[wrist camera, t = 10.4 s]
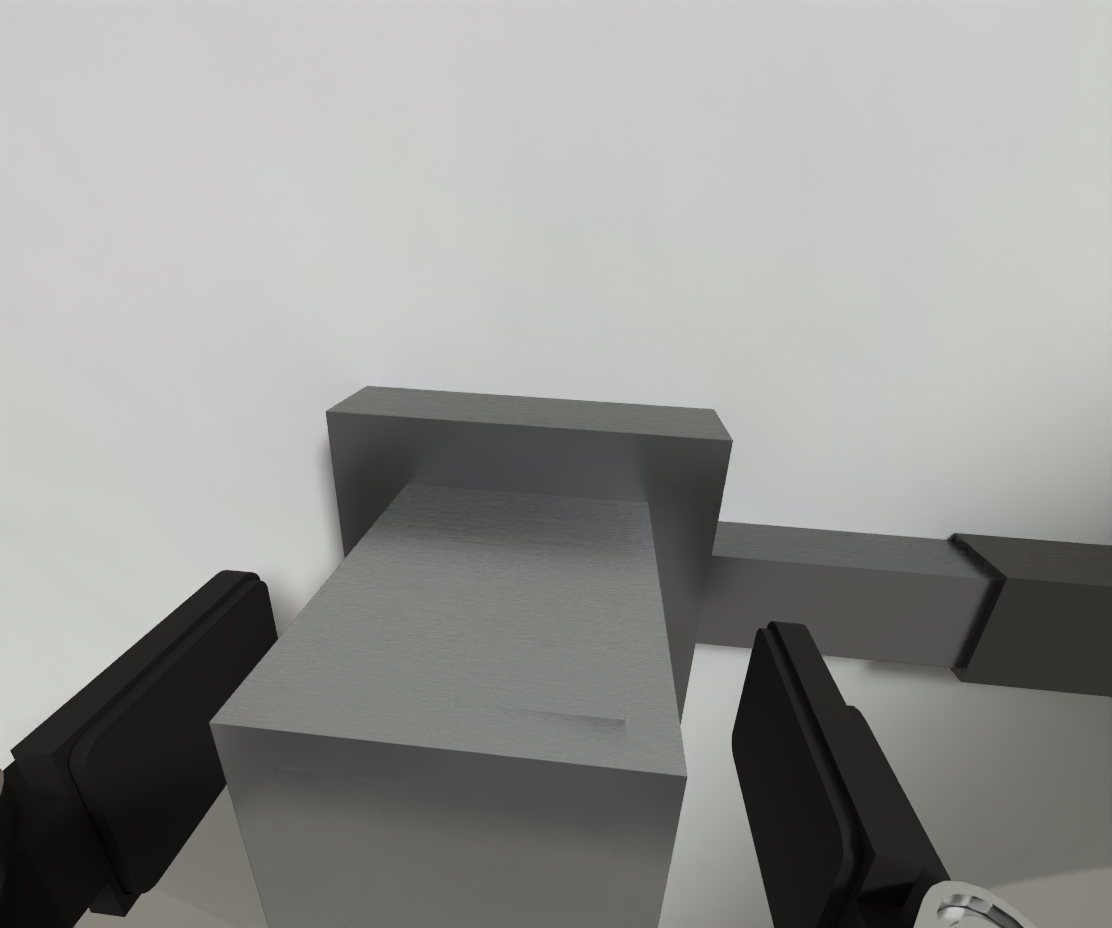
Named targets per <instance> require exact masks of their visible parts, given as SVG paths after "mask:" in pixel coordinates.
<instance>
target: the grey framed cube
mask: <svg viewBox="0 0 1112 928" xmlns="http://www.w3.org/2000/svg"><path fill="white" fill-rule="evenodd" d="M209 724H210V727H211V731H212V734H213V738H214V741H215V744H216V748H217V751H218V755H219V758H220V762H221V765H222V768H223V772H224V775H225V779H226V782H227V786H228V789H229V793H230V796H231V799H232V803H233V806H234V810H235V813H236V817H237V820H238V823H239V827H240V830H241V834H242V837H243V841H244V844H245V848H246V851H247V854H248V858H249V861H250V865H251V868H252V872H253V875H254V879H255V882H256V885H257V889H258V892H259V896H260V899H261V903H262V906H263V909H264V913H265V916H266V920H267V923H268V927H269V928H658V923H659V918H660V913H661V908H662V903H663V898H664V893H665V888H666V883H667V877H668V872H669V867H670V862H671V857H672V852H673V847H674V842H675V837H676V832H677V827H678V822H679V816H680V811H681V806H682V801H683V796H684V791H685V786H686V781H687V770H686V763H685V756H684V749H683V742H682V735H681V729H680V722H679V715H678V708H677V701H676V694H675V687H674V680H673V673H672V666H671V659H670V652H669V645H668V638H667V631H666V624H665V617H664V611H663V604H662V597H661V590H660V583H659V576H658V569H657V562H656V555H655V548H654V541H653V534H652V527H651V520H650V513H649V506H648V503H642V502H629V501H616V500H603V499H590V498H577V497H564V496H552V495H539V494H526V493H513V492H500V491H487V490H475V489H462V488H449V487H436V486H423V485H410V484H407V485H406V486H405V487H404V488H403V489H402V491H401V492H400V493H399V494H398V495H397V497H396V498H395V499H394V500H393V501H392V503H391V504H390V505H389V506H388V507H387V509H386V510H385V511H384V512H383V514H382V515H381V516H380V517H379V518H378V520H377V521H376V522H375V523H374V524H373V526H372V527H371V528H370V529H369V530H368V532H367V533H366V534H365V535H364V536H363V538H362V539H361V540H360V541H359V542H358V544H357V545H356V546H355V547H354V548H353V550H352V551H351V552H350V553H349V555H348V556H347V557H346V558H345V559H344V561H343V562H342V563H341V564H340V565H339V567H338V568H337V569H336V570H335V571H334V573H333V574H332V575H331V576H330V577H329V579H328V580H327V581H326V582H325V583H324V585H323V586H322V587H321V588H320V589H319V591H318V592H317V593H316V594H315V596H314V597H313V598H312V599H311V600H310V602H309V603H308V604H307V605H306V606H305V608H304V609H303V610H302V611H301V612H300V614H299V615H298V616H297V617H296V618H295V620H294V621H293V622H292V623H291V624H290V626H289V627H288V628H287V629H286V630H285V632H284V633H283V634H282V635H281V637H280V638H279V639H278V640H277V641H276V643H275V644H274V645H273V646H272V647H271V649H270V650H269V651H268V652H267V653H266V655H265V656H264V657H263V658H262V659H261V661H260V662H259V663H258V664H257V665H256V667H255V668H254V669H253V670H252V672H251V673H250V674H249V675H248V676H247V678H246V679H245V680H244V681H243V682H242V684H241V685H240V686H239V687H238V688H237V690H236V691H235V692H234V693H233V694H232V696H231V697H230V698H229V699H228V700H227V702H226V703H225V704H224V705H223V706H222V708H221V709H220V710H219V711H218V713H217V714H216V715H215V716H214V717H213V719H212V720H211V721H210V722H209Z"/></svg>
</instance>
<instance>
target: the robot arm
mask: <svg viewBox="0 0 1112 928" xmlns="http://www.w3.org/2000/svg"><path fill="white" fill-rule="evenodd" d="M277 640H278V637H277V632H276V627H275V622H274V617H273V612H272V607H271V602H270V597H269V592H268V588H267V585H266V583H265V582H263V581H261V580H260V577H259V576H258V575H257V574H256V573H253V572H242V571H232V570H224V571H221V572H219V573H218V574H216V575H215V576H214V577H213V578H212V579H211V580H209V581H208V582H207V583H206V584H205V585H204V586H202V587H201V588H200V589H199V590H198V591H197V592H195V593H194V594H193V595H192V596H191V597H190V598H188V599H187V600H186V601H185V602H184V603H182V604H181V605H180V606H179V607H178V608H177V609H175V610H174V611H173V612H172V613H171V614H170V615H168V616H167V617H166V618H165V619H164V620H163V621H161V622H160V623H159V624H158V625H157V626H156V627H154V628H153V629H152V630H151V631H150V632H148V633H147V634H146V635H145V636H144V637H143V638H141V639H140V640H139V641H138V642H137V643H136V644H134V645H133V646H132V647H131V648H130V649H129V650H127V651H126V652H125V653H124V654H123V655H122V656H120V657H119V658H118V659H117V660H116V661H115V662H113V663H112V664H111V665H110V666H109V667H107V668H106V669H105V670H104V671H103V672H102V673H100V674H99V675H98V676H97V677H96V678H95V679H93V680H92V681H91V682H90V683H89V684H88V685H86V686H85V687H84V688H83V689H82V690H81V691H79V692H78V693H77V694H76V695H75V696H74V697H72V698H71V699H70V700H69V701H68V702H66V703H65V704H64V705H63V706H62V707H61V708H59V709H58V710H57V711H56V712H55V713H54V714H52V715H51V716H50V717H49V718H48V719H47V720H45V721H44V722H43V723H42V724H41V725H40V726H38V727H37V728H36V729H35V730H34V731H33V732H31V733H30V734H29V735H28V736H27V737H25V738H24V739H23V740H22V741H21V742H20V743H18V744H17V745H16V746H15V747H14V748H13V749H11V750H10V751H11V753H12V755H13V757H14V759H15V761H13V762H12V763H11V764H10V765H9V766H8V767H7V768H5V769H4V770H3V771H2V770H1V769H0V928H75V924H76V923H77V922H78V920H79V919H80V918H81V916H82V915H83V914H84V913H85V911H86V910H87V909H88V907H89V909H90V911H91V912H92V913H100V914H107V915H114V916H121V917H125V916H126V914H127V913H128V911H129V910H130V909H131V907H132V906H133V905H134V903H135V902H136V900H137V899H138V898H139V896H140V895H141V893H146V892H148V891H149V890H151V889H152V888H153V887H154V886H155V885H156V884H157V882H158V881H159V880H160V878H161V877H162V876H163V874H164V873H165V871H166V870H167V868H168V867H169V866H170V864H171V863H172V861H173V860H174V858H175V857H176V856H177V854H178V853H179V851H180V850H181V849H182V847H183V846H184V844H185V843H186V841H187V840H188V839H189V837H190V836H191V834H192V833H193V831H194V830H195V829H196V827H197V826H198V824H199V823H200V821H201V820H202V819H203V817H204V816H205V814H206V813H207V811H208V810H209V809H210V807H211V806H212V804H213V803H214V802H215V800H216V799H217V797H218V796H219V794H220V793H221V792H222V790H223V789H224V787H225V786H226V784H227V782H226V779H225V775H224V772H223V768H222V765H221V762H220V758H219V755H218V751H217V748H216V744H215V741H214V738H213V734H212V731H211V727H210V724H209V722H210V721H211V720H212V719H213V717H214V716H215V715H216V714H217V713H218V711H219V710H220V709H221V708H222V706H223V705H224V704H225V703H226V702H227V700H228V699H229V698H230V697H231V696H232V694H233V693H234V692H235V691H236V690H237V688H238V687H239V686H240V685H241V684H242V682H243V681H244V680H245V679H246V678H247V676H248V675H249V674H250V673H251V672H252V670H253V669H254V668H255V667H256V665H257V664H258V663H259V662H260V661H261V659H262V658H263V657H264V656H265V655H266V653H267V652H268V651H269V650H270V649H271V647H272V646H273V645H274V644H275V643H276V641H277ZM732 752H733V758H734V762H735V766H736V770H737V774H738V778H739V783H740V787H741V791H742V795H743V799H744V803H745V808H746V812H747V816H748V820H749V824H750V829H751V833H752V837H753V841H754V845H755V849H756V854H757V858H758V862H759V866H760V870H761V874H762V879H763V883H764V887H765V891H766V895H767V900H768V904H769V908H770V912H771V916H772V920H773V925H774V928H1037V927H1036V926H1035V925H1034V924H1033V923H1032V922H1031V921H1030V920H1029V919H1028V918H1027V917H1025V916H1024V915H1023V914H1022V913H1021V912H1019V911H1018V910H1017V909H1016V908H1014V907H1013V906H1012V905H1010V904H1009V903H1008V902H1007V901H1005V900H1004V899H1002V898H1000V897H998V896H996V895H994V894H992V893H991V892H989V891H987V890H986V889H984V888H981V887H978V886H975V885H972V884H969V883H966V882H963V881H951V879H950V877H949V876H948V874H947V872H946V870H945V868H944V866H943V864H942V862H941V860H940V859H939V857H938V855H937V853H936V851H935V849H934V847H933V845H932V844H931V842H930V840H929V838H928V836H927V834H926V832H925V830H924V829H923V827H922V825H921V823H920V821H919V819H918V817H917V815H916V814H915V812H914V810H913V808H912V806H911V804H910V802H909V800H908V799H907V797H906V795H905V793H904V791H903V789H902V787H901V785H900V784H899V782H898V780H897V778H896V776H895V774H894V772H893V770H892V769H891V767H890V765H889V763H888V761H887V759H886V757H885V755H884V754H883V752H882V750H881V748H880V746H879V744H878V742H877V740H876V738H875V737H874V735H873V733H872V731H871V729H870V727H869V725H868V723H867V722H866V720H865V718H864V717H863V715H862V714H861V712H860V711H859V710H858V709H857V708H855V707H854V706H848V705H846V703H845V701H844V699H843V697H842V695H841V693H840V691H839V689H838V687H837V685H836V683H835V682H834V680H833V678H832V676H831V674H830V672H829V670H828V668H827V666H826V664H825V662H824V660H823V658H822V656H821V654H820V652H819V650H818V648H817V646H816V644H815V642H814V640H813V638H812V636H811V634H810V632H809V630H808V629H807V627H806V626H805V625H804V624H799V623H789V622H778V621H771V622H769V624H768V625H767V628H766V629H765V628H759V629H758V630H757V633H756V636H755V640H754V645H753V649H752V653H751V657H750V661H749V666H748V670H747V674H746V678H745V682H744V687H743V691H742V695H741V699H740V703H739V708H738V712H737V716H736V720H735V724H734V729H733V733H732Z"/></svg>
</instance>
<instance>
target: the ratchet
mask: <svg viewBox="0 0 1112 928" xmlns="http://www.w3.org/2000/svg"><path fill="white" fill-rule="evenodd" d="M326 417H327V425H328V433H329V440H330V448H331V456H332V464H333V471H334V479H335V487H336V494H337V502H338V510H339V517H340V525H341V533H342V540H343V548H344V556H345V558H346V557H347V556H348V555H349V553H350V552H351V551H352V550H353V548H354V547H355V546H356V545H357V544H358V542H359V541H360V540H361V539H362V538H363V536H364V535H365V534H366V533H367V532H368V530H369V529H370V528H371V527H372V526H373V524H374V523H375V522H376V521H377V520H378V518H379V517H380V516H381V515H382V514H383V512H384V511H385V510H386V509H387V507H388V506H389V505H390V504H391V503H392V501H393V500H394V499H395V498H396V497H397V495H398V494H399V493H400V492H401V491H402V489H403V488H404V487H405V486H406V485H407V484H410V485H423V486H436V487H449V488H462V489H475V490H487V491H500V492H513V493H526V494H539V495H552V496H564V497H577V498H590V499H603V500H616V501H629V502H642V503H648V506H649V513H650V520H651V527H652V534H653V541H654V548H655V555H656V562H657V569H658V576H659V583H660V590H661V597H662V604H663V611H664V617H665V624H666V631H667V638H668V645H669V652H670V659H671V666H672V673H673V680H674V687H675V694H676V701H677V708H678V715H679V722H680V725H681V719H682V714H683V708H684V703H685V697H686V692H687V687H688V681H689V676H690V670H691V665H692V659H693V654H694V649H695V643H704V644H714V645H724V646H734V647H745V648H753V645H754V640H755V636H756V633H757V630H758V629H759V628H765V629H766V628H767V625H768V624H769V622H771V621H778V622H789V623H799V624H804V625H805V626H806V627H807V629H808V630H809V632H810V634H811V636H812V638H813V640H814V642H815V644H816V646H817V648H818V650H819V652H820V654H821V655H827V656H837V657H847V658H857V659H868V660H878V661H888V662H898V663H908V664H919V665H929V666H939V667H949V668H950V669H951V670H952V671H953V672H954V674H955V675H956V676H957V677H958V679H959V680H960V681H961V682H968V683H978V684H988V685H998V686H1008V687H1018V688H1028V689H1039V690H1049V691H1059V692H1069V693H1079V694H1089V695H1099V696H1109V697H1112V546H1107V545H1094V544H1082V543H1070V542H1057V541H1045V540H1033V539H1020V538H1008V537H996V536H984V535H971V534H959V533H955V535H954V538H953V541H952V540H940V539H927V538H915V537H903V536H891V535H879V534H867V533H854V532H842V531H830V530H818V529H806V528H793V527H781V526H769V525H757V524H745V523H733V522H720V521H718V518H719V513H720V507H721V502H722V497H723V491H724V486H725V480H726V475H727V469H728V464H729V458H730V453H731V448H732V442H733V440H732V438H731V437H730V435H729V433H728V432H727V430H726V428H725V427H724V425H723V424H722V422H721V420H720V419H719V417H718V415H717V414H716V412H715V410H712V409H698V408H683V407H668V406H654V405H639V404H624V403H610V402H595V401H580V400H565V399H551V398H536V397H521V396H507V395H492V394H477V393H463V392H448V391H433V390H418V389H404V388H389V387H374V386H367V387H365V388H363V389H362V390H360V391H358V392H357V393H355V394H353V395H352V396H350V397H348V398H347V399H345V400H343V401H342V402H340V403H338V404H337V405H335V406H334V407H332V408H330V409H329V410H327V411H326Z"/></svg>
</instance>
